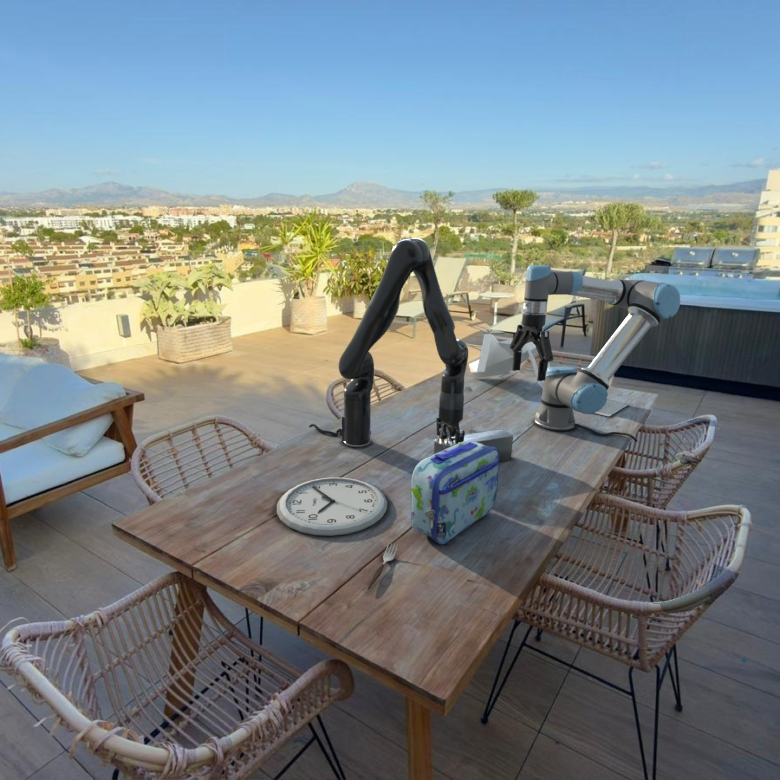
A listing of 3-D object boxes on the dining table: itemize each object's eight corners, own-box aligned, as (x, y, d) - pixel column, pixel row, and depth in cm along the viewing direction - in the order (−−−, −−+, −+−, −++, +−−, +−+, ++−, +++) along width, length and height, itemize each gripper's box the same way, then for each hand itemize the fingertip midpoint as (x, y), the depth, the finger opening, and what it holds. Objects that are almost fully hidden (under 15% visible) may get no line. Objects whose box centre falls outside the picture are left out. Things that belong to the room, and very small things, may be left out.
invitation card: (608, 416, 214) (573, 407, 224) (608, 416, 214) (573, 408, 224) (628, 404, 229) (594, 396, 238) (628, 405, 229) (594, 397, 238)
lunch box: (436, 553, 122) (441, 472, 116) (403, 535, 129) (406, 457, 123) (500, 514, 140) (507, 441, 133) (468, 499, 147) (473, 430, 141)
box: (500, 452, 179) (502, 428, 176) (511, 459, 173) (513, 435, 171) (433, 464, 169) (434, 439, 166) (442, 472, 163) (443, 447, 161)
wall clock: (392, 527, 129) (268, 531, 127) (391, 533, 130) (269, 537, 127) (383, 473, 158) (282, 475, 155) (383, 478, 158) (282, 480, 156)
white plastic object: (490, 419, 265) (470, 397, 240) (471, 347, 287) (451, 319, 262) (561, 395, 253) (548, 369, 228) (536, 321, 275) (521, 290, 250)
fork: (362, 589, 110) (362, 581, 109) (388, 548, 124) (388, 541, 123) (373, 592, 109) (373, 584, 108) (398, 550, 123) (399, 543, 122)
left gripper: (429, 399, 166) (427, 447, 171) (452, 413, 153) (449, 465, 159) (450, 396, 169) (447, 444, 174) (474, 410, 156) (470, 461, 161)
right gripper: (502, 308, 182) (498, 367, 188) (550, 320, 160) (543, 386, 167) (520, 307, 185) (515, 365, 191) (569, 318, 163) (561, 383, 169)
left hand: (448, 454), depth 166 cm, fingers closed on box, 6 cm apart
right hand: (528, 375), depth 179 cm, fingers open, 13 cm apart
